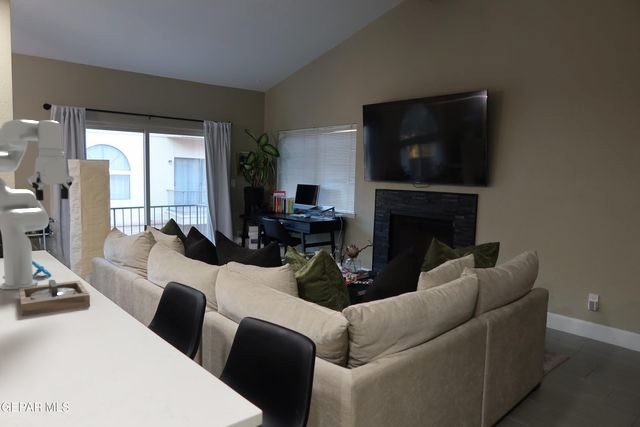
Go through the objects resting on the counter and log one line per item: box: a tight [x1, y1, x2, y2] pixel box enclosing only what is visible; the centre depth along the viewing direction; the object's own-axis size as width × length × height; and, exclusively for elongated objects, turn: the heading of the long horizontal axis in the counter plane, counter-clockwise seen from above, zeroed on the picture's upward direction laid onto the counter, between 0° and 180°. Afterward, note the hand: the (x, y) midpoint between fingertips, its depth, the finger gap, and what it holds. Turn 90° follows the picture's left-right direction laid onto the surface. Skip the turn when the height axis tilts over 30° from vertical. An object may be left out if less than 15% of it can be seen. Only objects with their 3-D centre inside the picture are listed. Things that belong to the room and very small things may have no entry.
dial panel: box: [18, 280, 91, 317], centre depth 159 cm, size 24×20×4 cm
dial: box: [30, 279, 76, 300], centre depth 159 cm, size 14×14×5 cm
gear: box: [32, 260, 52, 279], centre depth 195 cm, size 11×6×10 cm
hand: (52, 199), depth 166 cm, fingers open, 9 cm apart
